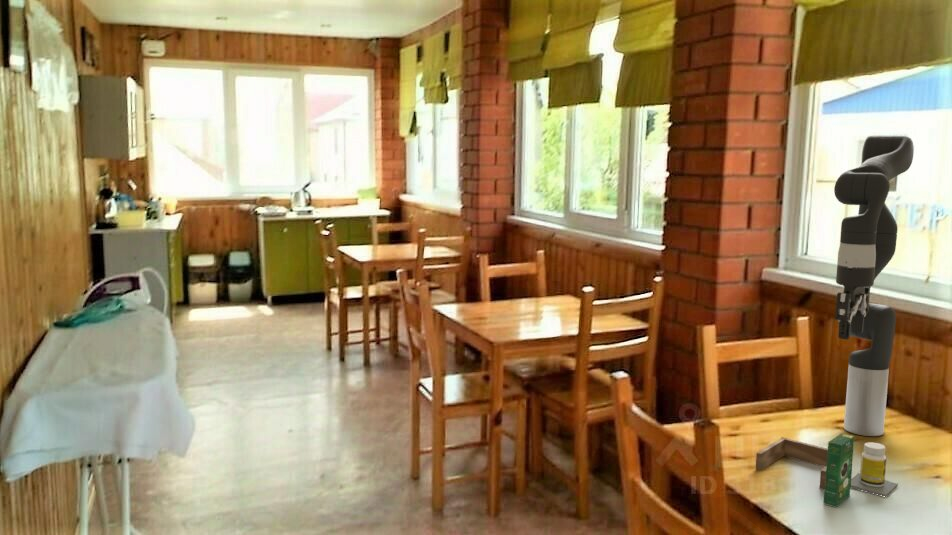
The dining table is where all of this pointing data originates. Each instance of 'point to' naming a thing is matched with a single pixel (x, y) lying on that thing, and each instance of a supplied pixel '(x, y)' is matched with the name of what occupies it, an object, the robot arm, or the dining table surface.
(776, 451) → the open box
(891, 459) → the dining table surface
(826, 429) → the dining table surface
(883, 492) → the grey mat
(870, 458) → the supplement bottle
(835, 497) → the coffee box
